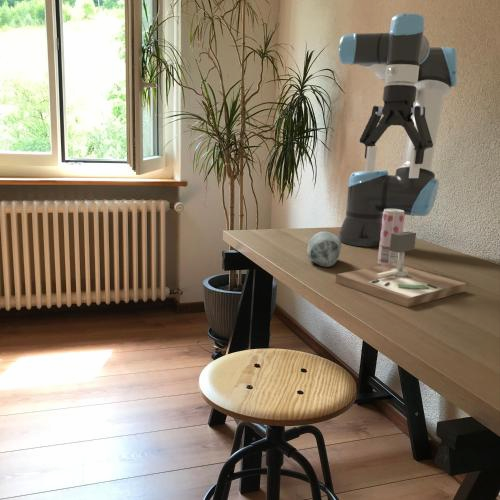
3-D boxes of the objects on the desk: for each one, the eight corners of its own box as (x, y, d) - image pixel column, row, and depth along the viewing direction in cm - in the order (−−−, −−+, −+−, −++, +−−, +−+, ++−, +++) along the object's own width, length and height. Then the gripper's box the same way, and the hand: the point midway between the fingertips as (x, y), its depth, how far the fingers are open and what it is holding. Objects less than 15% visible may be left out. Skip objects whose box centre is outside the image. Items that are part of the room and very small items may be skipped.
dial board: (393, 270, 136) (394, 261, 135) (464, 291, 121) (466, 281, 120) (335, 282, 123) (336, 272, 122) (407, 307, 107) (408, 296, 107)
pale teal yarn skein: (347, 259, 132) (332, 222, 133) (312, 273, 134) (298, 237, 135) (349, 259, 145) (335, 226, 146) (317, 272, 147) (304, 239, 148)
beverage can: (395, 262, 145) (402, 208, 142) (401, 267, 139) (407, 212, 136) (375, 261, 145) (381, 207, 142) (379, 266, 139) (386, 211, 136)
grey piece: (400, 270, 127) (405, 230, 125) (414, 274, 124) (419, 233, 122) (370, 276, 121) (375, 234, 118) (384, 281, 118) (389, 238, 115)
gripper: (350, 85, 131) (343, 170, 136) (436, 82, 112) (424, 181, 117) (370, 87, 136) (362, 169, 141) (456, 84, 116) (443, 180, 121)
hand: (390, 175), depth 129 cm, fingers open, 13 cm apart
